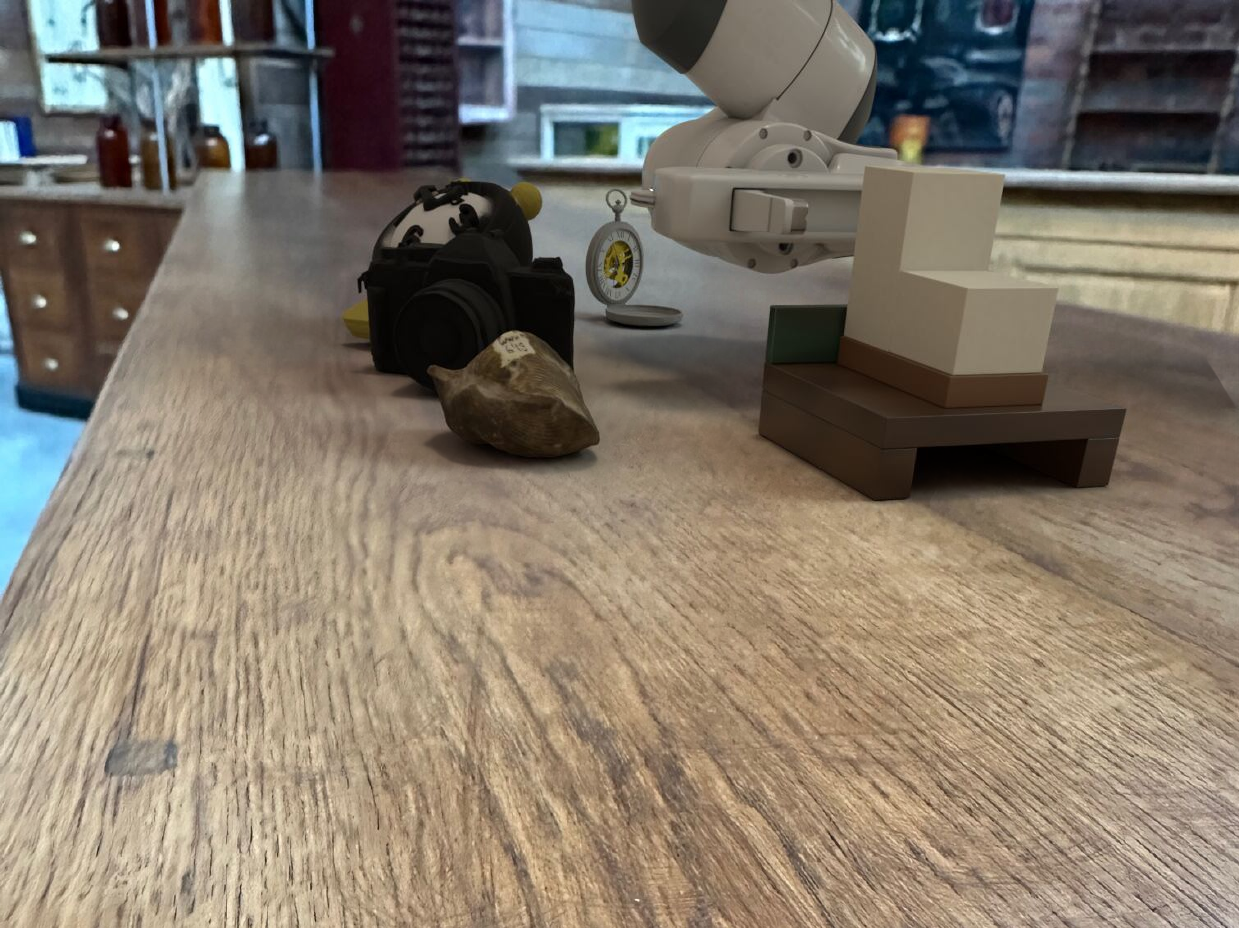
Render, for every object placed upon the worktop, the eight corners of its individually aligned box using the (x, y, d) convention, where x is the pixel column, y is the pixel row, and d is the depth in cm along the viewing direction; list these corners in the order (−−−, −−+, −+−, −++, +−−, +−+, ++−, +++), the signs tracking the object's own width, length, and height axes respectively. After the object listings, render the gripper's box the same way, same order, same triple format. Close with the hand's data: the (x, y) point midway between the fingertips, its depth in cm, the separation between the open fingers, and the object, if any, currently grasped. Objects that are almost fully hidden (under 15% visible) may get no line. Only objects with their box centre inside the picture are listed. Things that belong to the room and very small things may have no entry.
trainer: (836, 363, 70) (861, 165, 64) (925, 361, 71) (955, 168, 66) (944, 408, 60) (983, 181, 55) (1043, 404, 62) (1089, 183, 57)
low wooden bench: (757, 433, 71) (769, 304, 68) (962, 424, 76) (984, 302, 72) (874, 500, 60) (896, 351, 57) (1108, 485, 64) (1143, 345, 61)
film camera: (319, 385, 78) (306, 230, 73) (387, 360, 86) (379, 218, 81) (541, 409, 74) (542, 247, 70) (591, 380, 82) (594, 233, 78)
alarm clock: (356, 377, 99) (358, 183, 97) (536, 387, 100) (541, 196, 98) (335, 333, 87) (337, 112, 85) (540, 345, 88) (545, 128, 87)
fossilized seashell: (390, 391, 66) (485, 464, 60) (451, 278, 64) (555, 343, 58) (487, 447, 72) (582, 519, 66) (546, 345, 70) (649, 410, 64)
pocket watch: (677, 331, 101) (685, 196, 96) (578, 325, 102) (580, 190, 97) (688, 316, 108) (696, 190, 103) (595, 311, 109) (598, 185, 104)
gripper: (622, 138, 76) (706, 150, 65) (908, 149, 82) (1030, 161, 71) (618, 249, 79) (697, 278, 68) (893, 251, 85) (1008, 279, 74)
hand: (870, 219), depth 70 cm, fingers open, 8 cm apart
